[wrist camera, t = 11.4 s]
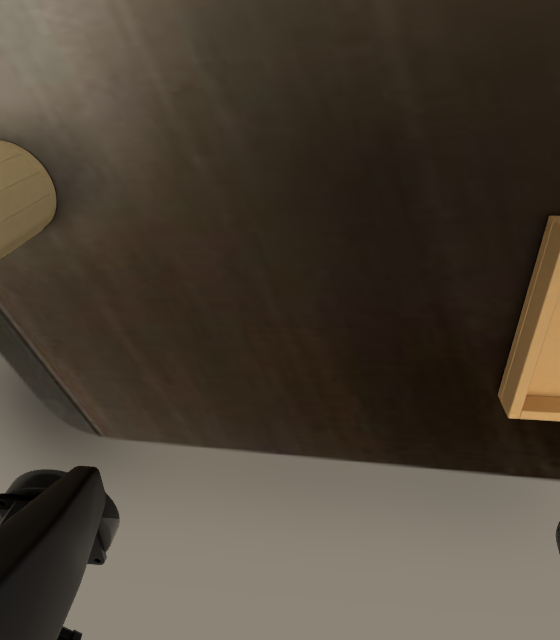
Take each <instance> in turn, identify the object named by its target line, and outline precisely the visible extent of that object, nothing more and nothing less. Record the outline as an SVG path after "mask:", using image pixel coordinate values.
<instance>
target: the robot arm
mask: <svg viewBox="0 0 560 640" xmlns="http://www.w3.org/2000/svg"><path fill="white" fill-rule="evenodd" d="M105 502H106V495H105V490H104V487H103V483H102V480H101V476H100V472H99V470H98V469H97V468H96V467H89V466H77V467H75V468H73V469H72V470H70V471H69V472H68V473H67V474H65V475H64V476H63V477H62V478H60V479H59V480H58V481H56V482H55V483H54V484H53V485H51V486H50V487H49V488H48V489H46V490H45V491H44V492H43V493H41V494H40V495H39V496H32V495H19V494H6V493H1V494H0V516H1V518H2V521H1V522H0V640H81V636H82V633H80V632H78V631H76V630H73V631H72V630H70V629H68V628H66V627H63V624H64V621H65V619H66V617H67V614H68V612H69V610H70V608H71V605H72V603H73V601H74V598H75V596H76V593H77V591H78V588H79V586H80V583H81V580H82V577H83V575H84V572H85V568H86V565H87V564H95V565H102V564H103V563H104V562H105V560H106V553H105V549H104V546H103V543H102V539H101V536H100V533H99V529H98V526H99V523H100V520H101V517H102V514H103V510H104V507H105ZM556 541H557V545H558V549H559V553H560V522H559V524H558V527H557V530H556Z"/></svg>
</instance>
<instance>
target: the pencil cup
mask: <svg viewBox="0 0 560 640" xmlns="http://www.w3.org/2000/svg"><path fill="white" fill-rule="evenodd" d="M56 203H57V202H56V192H55V188H54V185H53V182H52V180H51V178H50V176H49V174H48V172H47V171H46V170H45V168H44V167H43V165H42V164H41V163H40V162H39V161H38V160H37V159H36V158H35V157H34V156H33V155H32V154H30V153H29V152H28V151H26V150H25V149H23V148H21V147H19V146H17V145H15V144H13V143H10V142H6V141H2V140H0V260H1V259H2V258H4V257H5V256H6V255H8V254H9V253H11V252H12V251H14V250H15V249H17V248H18V247H19V246H21V245H22V244H24V243H25V242H27V241H28V240H30V239H31V238H32V237H34V236H35V235H37V234H38V233H40V232H41V231H42V230H43V229H44V228H45V227H47V225H48V224H49V223H50V222H51V220H52V219H53V216H54V214H55V210H56Z"/></svg>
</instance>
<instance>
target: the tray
mask: <svg viewBox="0 0 560 640" xmlns="http://www.w3.org/2000/svg"><path fill="white" fill-rule="evenodd" d="M498 397H499V399H500V401H501V403H502V405H503V408H504V410H505V412H506V414H507V417H508V418H513V419H519V418H520V419H530V420H547V421H560V216H549V218H548V222H547V225H546V229H545V232H544V236H543V239H542V243H541V246H540V250H539V253H538V257H537V260H536V264H535V267H534V270H533V274H532V277H531V281H530V284H529V288H528V291H527V295H526V298H525V302H524V305H523V309H522V312H521V316H520V319H519V323H518V326H517V330H516V333H515V336H514V340H513V343H512V347H511V350H510V354H509V357H508V361H507V364H506V368H505V371H504V375H503V378H502V382H501V385H500V389H499V392H498Z"/></svg>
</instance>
